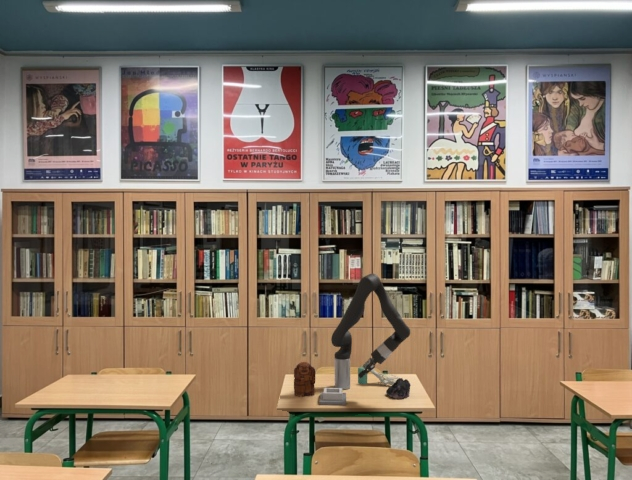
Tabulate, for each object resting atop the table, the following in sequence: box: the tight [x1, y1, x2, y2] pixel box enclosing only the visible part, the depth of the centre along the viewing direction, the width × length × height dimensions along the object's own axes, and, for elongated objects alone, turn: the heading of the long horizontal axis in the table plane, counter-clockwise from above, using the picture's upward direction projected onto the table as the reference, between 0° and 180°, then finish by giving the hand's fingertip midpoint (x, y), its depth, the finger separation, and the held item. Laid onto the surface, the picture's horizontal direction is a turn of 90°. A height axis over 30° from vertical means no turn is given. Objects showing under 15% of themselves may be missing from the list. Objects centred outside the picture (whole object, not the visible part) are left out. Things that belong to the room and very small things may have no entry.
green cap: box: [357, 366, 368, 385], centre depth 264 cm, size 5×5×8 cm
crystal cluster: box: [385, 377, 412, 400], centre depth 274 cm, size 13×14×10 cm
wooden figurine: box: [293, 361, 316, 397], centre depth 276 cm, size 12×6×18 cm, turn 100°
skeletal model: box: [369, 368, 400, 386], centre depth 297 cm, size 16×9×25 cm
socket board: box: [318, 387, 347, 406], centre depth 266 cm, size 17×14×5 cm
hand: (359, 375), depth 265 cm, fingers closed on green cap, 5 cm apart
